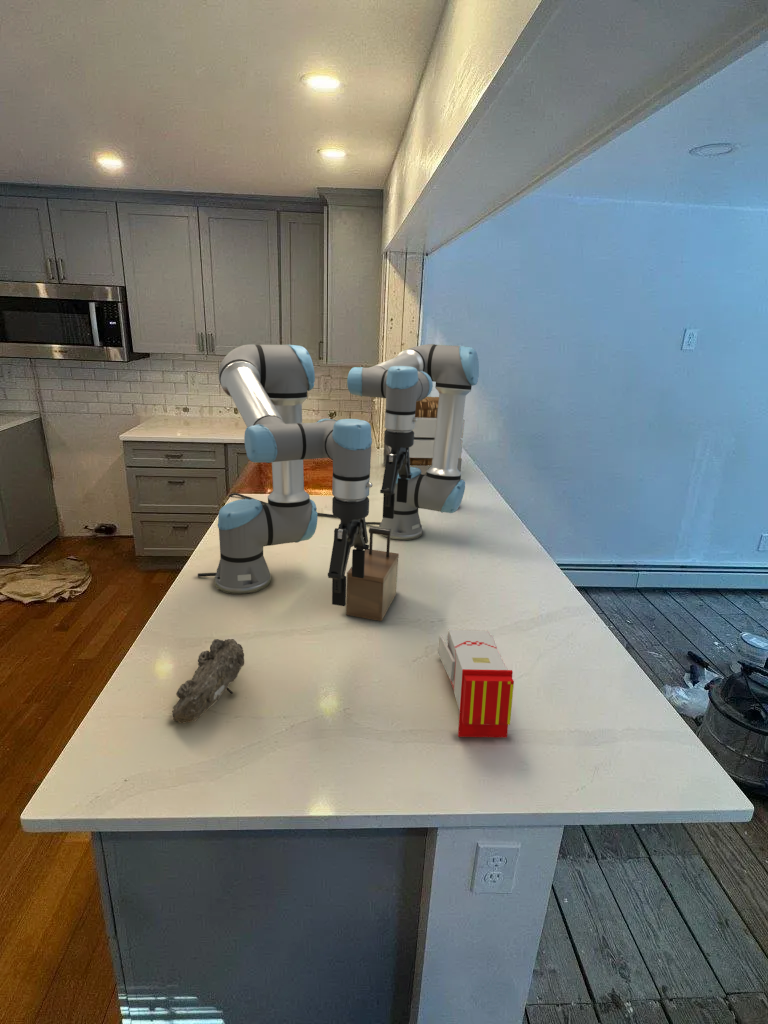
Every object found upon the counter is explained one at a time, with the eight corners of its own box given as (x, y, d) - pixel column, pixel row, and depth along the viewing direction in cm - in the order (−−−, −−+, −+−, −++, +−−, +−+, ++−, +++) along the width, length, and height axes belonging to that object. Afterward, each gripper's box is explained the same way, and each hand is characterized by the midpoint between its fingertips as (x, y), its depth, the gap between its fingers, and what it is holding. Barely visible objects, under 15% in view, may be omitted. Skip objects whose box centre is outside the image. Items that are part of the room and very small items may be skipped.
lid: (365, 552, 157) (366, 521, 154) (398, 557, 155) (400, 526, 152) (346, 577, 142) (347, 543, 139) (383, 582, 140) (385, 548, 137)
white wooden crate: (382, 463, 289) (386, 382, 275) (445, 464, 293) (451, 384, 279) (390, 482, 257) (394, 392, 243) (460, 483, 261) (468, 394, 247)
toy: (488, 613, 130) (523, 677, 101) (484, 667, 133) (517, 744, 104) (435, 612, 130) (455, 676, 101) (432, 666, 133) (451, 743, 103)
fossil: (195, 641, 124) (244, 609, 119) (226, 670, 127) (274, 640, 122) (149, 717, 105) (205, 683, 100) (186, 749, 107) (242, 718, 102)
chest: (363, 588, 160) (364, 553, 156) (396, 593, 158) (398, 558, 154) (346, 615, 146) (346, 577, 142) (381, 621, 144) (383, 583, 140)
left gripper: (350, 518, 103) (347, 621, 110) (383, 482, 126) (380, 568, 133) (311, 513, 105) (311, 614, 112) (351, 478, 128) (349, 564, 135)
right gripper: (401, 441, 130) (396, 527, 137) (424, 423, 153) (419, 497, 160) (370, 437, 132) (367, 522, 139) (397, 420, 155) (393, 494, 162)
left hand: (348, 590), depth 122 cm, fingers open, 13 cm apart
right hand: (395, 509), depth 150 cm, fingers open, 13 cm apart
